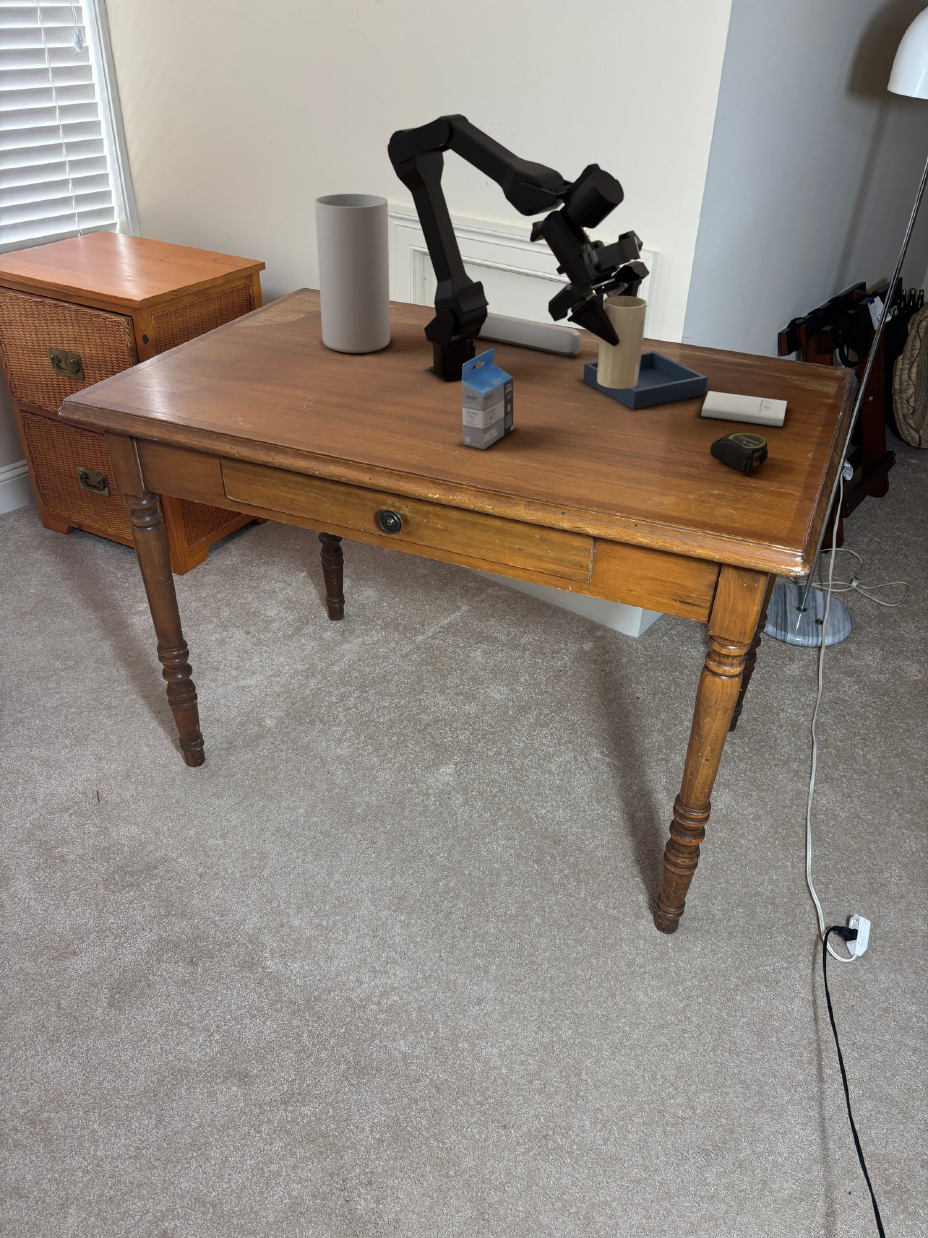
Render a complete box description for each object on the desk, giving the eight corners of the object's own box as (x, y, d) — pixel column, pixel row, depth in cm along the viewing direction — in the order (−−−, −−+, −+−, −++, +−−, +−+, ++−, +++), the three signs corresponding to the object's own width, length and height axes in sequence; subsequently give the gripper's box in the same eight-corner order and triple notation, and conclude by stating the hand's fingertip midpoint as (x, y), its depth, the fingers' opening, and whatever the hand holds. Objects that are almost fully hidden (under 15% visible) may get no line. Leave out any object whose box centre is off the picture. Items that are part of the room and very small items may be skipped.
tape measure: (705, 461, 141) (709, 437, 139) (738, 450, 144) (742, 426, 142) (741, 478, 136) (746, 453, 134) (775, 466, 140) (779, 442, 138)
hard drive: (707, 399, 161) (785, 408, 158) (700, 417, 155) (782, 427, 151) (708, 389, 160) (787, 399, 157) (702, 407, 154) (784, 417, 151)
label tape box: (484, 450, 144) (485, 368, 137) (460, 444, 146) (461, 363, 139) (514, 430, 150) (516, 351, 143) (491, 424, 152) (492, 346, 145)
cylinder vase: (385, 355, 178) (382, 208, 164) (317, 352, 178) (308, 205, 165) (393, 334, 188) (391, 194, 175) (328, 332, 189) (321, 192, 175)
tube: (589, 330, 178) (471, 307, 189) (578, 328, 174) (458, 304, 184) (583, 360, 180) (466, 335, 191) (571, 358, 175) (452, 333, 186)
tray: (633, 409, 157) (635, 391, 156) (583, 380, 168) (584, 363, 166) (705, 394, 163) (707, 376, 161) (652, 367, 174) (654, 350, 172)
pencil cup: (612, 391, 146) (620, 310, 139) (588, 378, 150) (595, 298, 143) (646, 384, 148) (655, 304, 141) (622, 371, 152) (629, 293, 146)
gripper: (570, 223, 132) (631, 322, 132) (645, 203, 144) (701, 294, 144) (522, 273, 141) (579, 366, 141) (596, 250, 153) (649, 335, 153)
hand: (629, 339), depth 144 cm, fingers closed on pencil cup, 6 cm apart
